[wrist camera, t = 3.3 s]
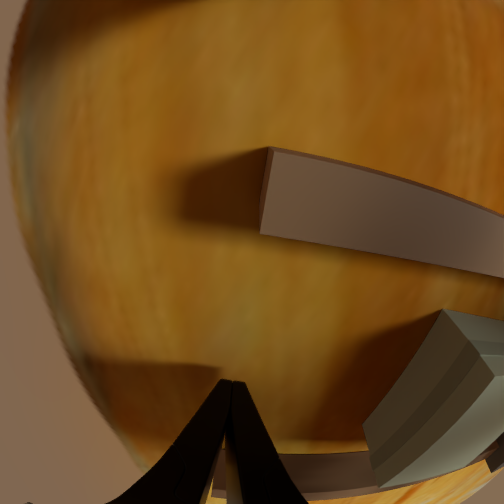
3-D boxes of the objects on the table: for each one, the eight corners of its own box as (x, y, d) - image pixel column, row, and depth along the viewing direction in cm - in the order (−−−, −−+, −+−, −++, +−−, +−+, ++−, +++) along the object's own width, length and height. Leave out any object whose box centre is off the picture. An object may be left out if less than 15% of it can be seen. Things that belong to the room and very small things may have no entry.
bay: (592, 259, 8) (627, 286, 4) (488, 433, 14) (504, 465, 10) (270, 137, 7) (284, 137, 3) (215, 461, 13) (208, 521, 9)
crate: (513, 320, 10) (555, 368, 6) (442, 417, 12) (464, 467, 9) (439, 304, 9) (495, 375, 5) (359, 421, 12) (376, 489, 8)
